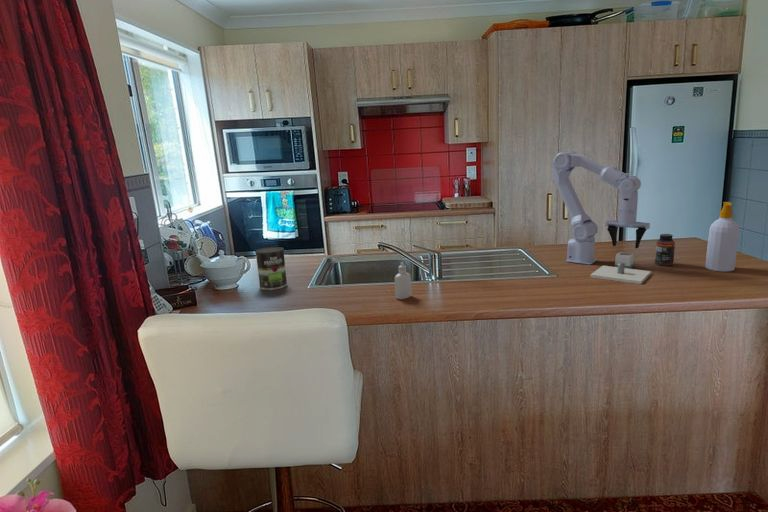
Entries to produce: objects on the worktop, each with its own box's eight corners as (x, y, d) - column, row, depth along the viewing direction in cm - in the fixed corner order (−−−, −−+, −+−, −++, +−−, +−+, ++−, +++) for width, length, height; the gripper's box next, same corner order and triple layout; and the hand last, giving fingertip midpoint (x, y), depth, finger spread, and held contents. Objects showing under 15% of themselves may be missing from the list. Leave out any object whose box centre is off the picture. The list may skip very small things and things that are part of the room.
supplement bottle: (668, 261, 178) (671, 232, 175) (676, 266, 172) (679, 236, 169) (651, 262, 178) (654, 233, 176) (659, 266, 173) (661, 236, 170)
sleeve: (614, 267, 174) (615, 254, 173) (618, 264, 178) (619, 251, 177) (629, 269, 171) (630, 256, 170) (633, 266, 175) (634, 253, 173)
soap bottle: (708, 271, 163) (716, 204, 157) (702, 264, 171) (709, 200, 166) (738, 273, 160) (747, 204, 154) (730, 266, 168) (738, 200, 163)
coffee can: (290, 286, 173) (286, 250, 170) (263, 292, 169) (258, 254, 165) (283, 280, 182) (279, 245, 179) (256, 285, 178) (252, 249, 174)
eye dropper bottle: (394, 295, 156) (392, 261, 154) (410, 294, 157) (409, 260, 154) (396, 300, 152) (394, 264, 149) (413, 298, 153) (411, 263, 150)
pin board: (590, 277, 164) (591, 264, 163) (602, 268, 175) (603, 256, 174) (640, 284, 154) (641, 271, 153) (650, 274, 164) (651, 261, 163)
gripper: (603, 210, 171) (601, 246, 174) (647, 212, 162) (644, 250, 165) (609, 208, 176) (607, 243, 179) (652, 210, 167) (649, 246, 170)
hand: (625, 246), depth 172 cm, fingers open, 7 cm apart
